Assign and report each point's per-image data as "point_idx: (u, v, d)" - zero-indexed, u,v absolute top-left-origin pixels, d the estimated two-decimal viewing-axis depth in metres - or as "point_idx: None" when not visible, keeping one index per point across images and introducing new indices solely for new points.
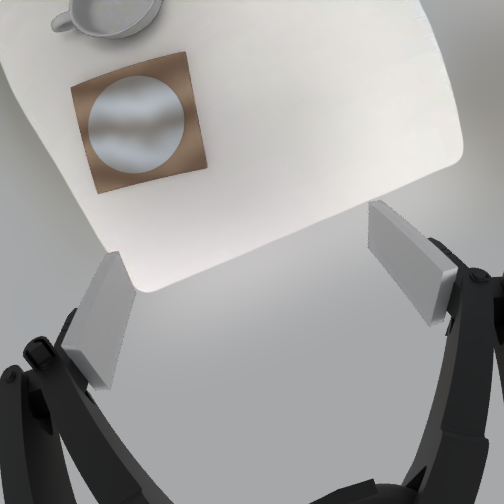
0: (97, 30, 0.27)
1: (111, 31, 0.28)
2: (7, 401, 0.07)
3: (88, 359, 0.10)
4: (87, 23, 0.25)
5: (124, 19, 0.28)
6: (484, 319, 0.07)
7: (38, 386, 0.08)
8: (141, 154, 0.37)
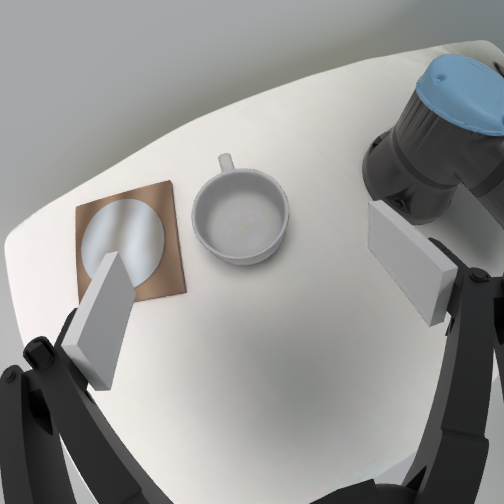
0: (217, 202, 0.40)
1: (216, 216, 0.40)
2: (7, 402, 0.07)
3: (88, 359, 0.10)
4: (224, 191, 0.39)
5: (229, 229, 0.41)
6: (484, 319, 0.07)
7: (38, 386, 0.08)
8: (95, 249, 0.40)
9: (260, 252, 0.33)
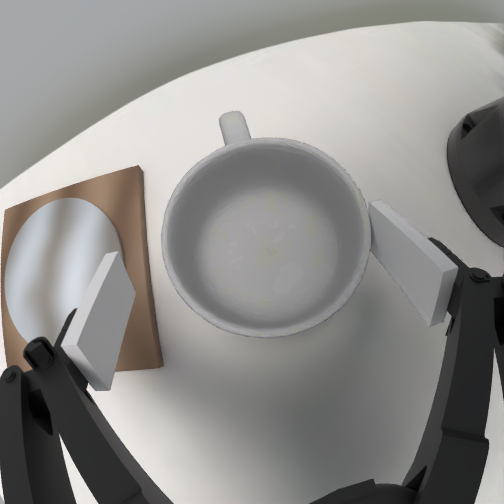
0: (216, 205, 0.21)
1: (214, 232, 0.22)
2: (7, 402, 0.07)
3: (88, 359, 0.10)
4: (230, 184, 0.20)
5: (238, 255, 0.22)
6: (484, 319, 0.07)
7: (38, 386, 0.08)
8: (21, 281, 0.21)
9: (313, 322, 0.14)
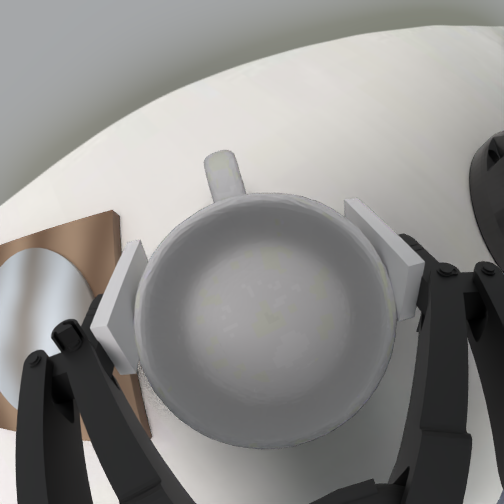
0: (205, 265, 0.18)
1: (203, 295, 0.18)
2: (29, 387, 0.08)
3: (117, 341, 0.10)
4: (220, 242, 0.17)
5: (232, 321, 0.18)
6: (455, 314, 0.08)
7: (65, 369, 0.09)
8: None
9: (319, 433, 0.11)
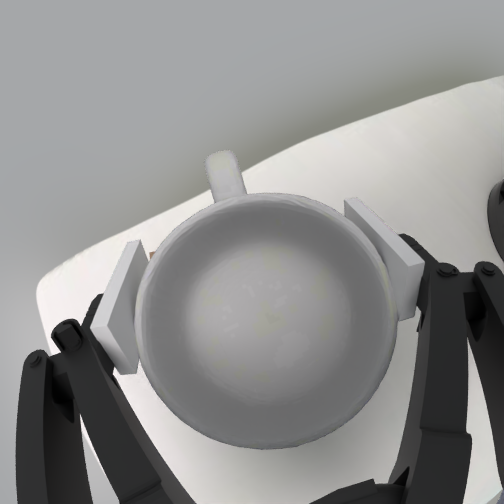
0: (205, 265, 0.18)
1: (204, 295, 0.18)
2: (29, 387, 0.08)
3: (117, 341, 0.10)
4: (221, 242, 0.17)
5: (232, 321, 0.18)
6: (455, 314, 0.08)
7: (65, 369, 0.09)
8: None
9: (320, 434, 0.11)
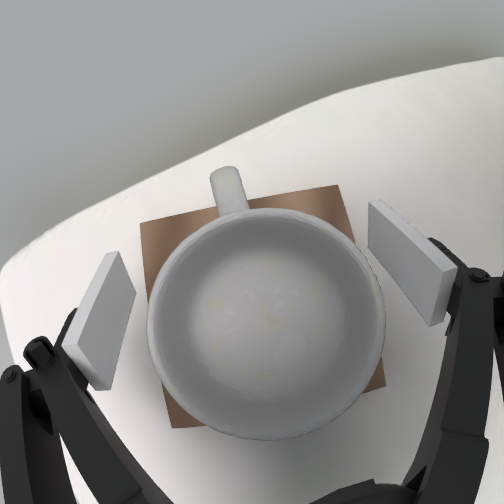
0: (210, 272, 0.19)
1: (208, 300, 0.20)
2: (7, 401, 0.07)
3: (88, 359, 0.10)
4: (224, 251, 0.18)
5: (235, 324, 0.20)
6: (484, 319, 0.07)
7: (38, 386, 0.08)
8: None
9: (315, 426, 0.12)
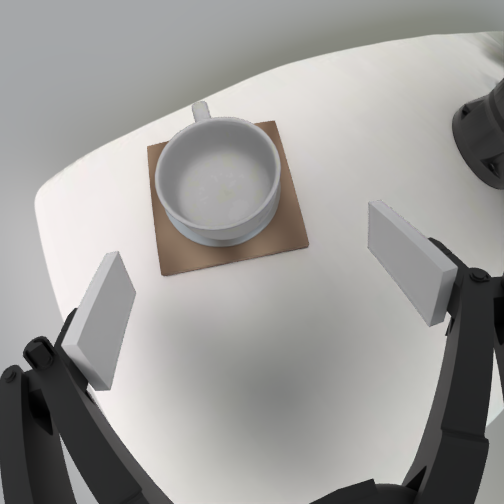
0: (190, 162, 0.31)
1: (189, 180, 0.32)
2: (7, 402, 0.07)
3: (88, 359, 0.10)
4: (199, 148, 0.30)
5: (205, 195, 0.32)
6: (484, 319, 0.07)
7: (38, 386, 0.08)
8: None
9: (243, 220, 0.24)
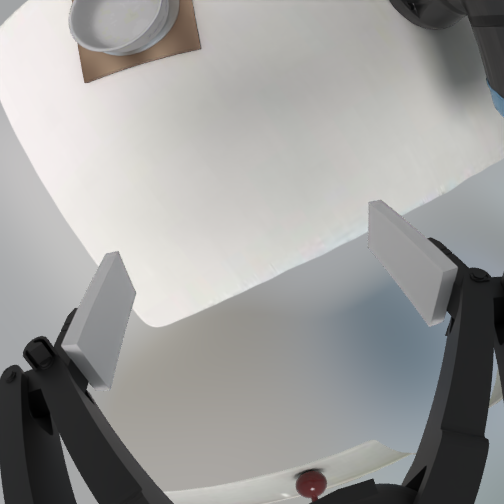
0: None
1: (102, 11, 0.25)
2: (7, 402, 0.07)
3: (88, 359, 0.10)
4: None
5: (114, 19, 0.27)
6: (484, 319, 0.07)
7: (38, 386, 0.08)
8: None
9: (131, 41, 0.24)
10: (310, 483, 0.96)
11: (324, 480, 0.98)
